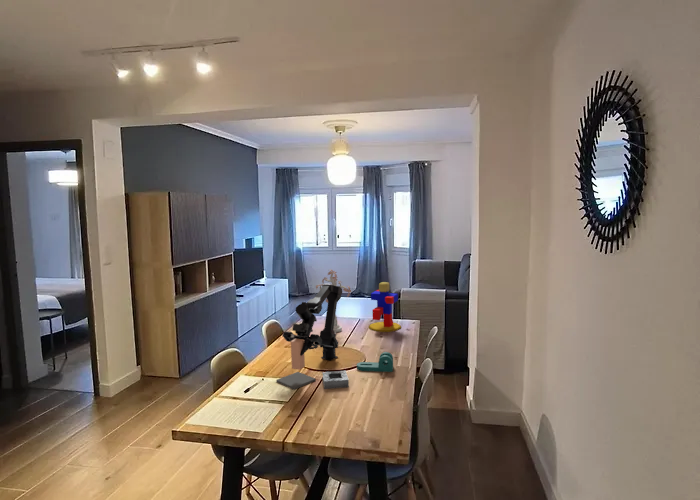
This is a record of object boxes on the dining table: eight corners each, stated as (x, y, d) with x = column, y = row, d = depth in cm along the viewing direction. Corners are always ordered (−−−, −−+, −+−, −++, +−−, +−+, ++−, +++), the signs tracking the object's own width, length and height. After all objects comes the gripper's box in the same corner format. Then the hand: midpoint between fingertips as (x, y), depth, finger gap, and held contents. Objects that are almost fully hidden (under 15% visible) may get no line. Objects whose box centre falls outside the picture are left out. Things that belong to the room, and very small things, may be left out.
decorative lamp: (352, 337, 267) (351, 273, 263) (314, 338, 268) (312, 274, 264) (352, 325, 295) (351, 266, 291) (318, 325, 295) (316, 267, 291)
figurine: (405, 324, 294) (404, 280, 291) (395, 333, 274) (394, 286, 271) (375, 321, 303) (374, 279, 299) (363, 330, 283) (362, 284, 280)
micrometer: (315, 350, 248) (315, 345, 247) (303, 349, 250) (303, 344, 249) (324, 341, 262) (323, 337, 262) (313, 341, 264) (312, 337, 264)
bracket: (393, 367, 218) (392, 352, 218) (392, 372, 212) (392, 356, 211) (357, 366, 221) (357, 351, 220) (355, 371, 214) (355, 355, 214)
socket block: (322, 379, 205) (322, 372, 204) (345, 377, 206) (345, 370, 206) (324, 389, 194) (324, 381, 193) (348, 387, 195) (348, 379, 195)
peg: (296, 365, 205) (295, 338, 203) (304, 366, 203) (303, 339, 201) (291, 368, 201) (290, 341, 199) (300, 369, 199) (299, 342, 197)
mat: (298, 373, 212) (297, 371, 212) (315, 380, 203) (315, 378, 203) (276, 381, 203) (276, 379, 203) (294, 389, 194) (293, 387, 194)
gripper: (283, 314, 206) (271, 344, 198) (318, 317, 199) (307, 348, 190) (292, 326, 215) (281, 355, 206) (326, 329, 207) (316, 360, 198)
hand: (296, 354), depth 200 cm, fingers closed on peg, 4 cm apart
